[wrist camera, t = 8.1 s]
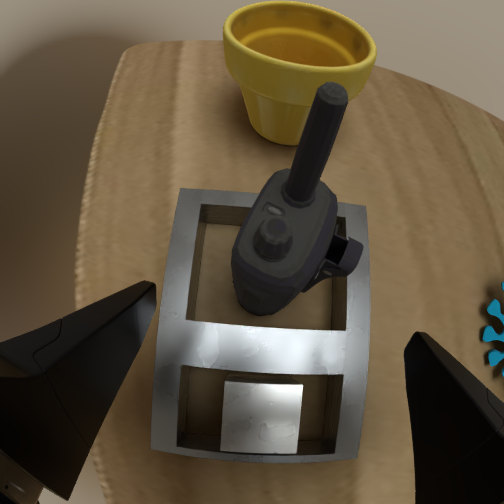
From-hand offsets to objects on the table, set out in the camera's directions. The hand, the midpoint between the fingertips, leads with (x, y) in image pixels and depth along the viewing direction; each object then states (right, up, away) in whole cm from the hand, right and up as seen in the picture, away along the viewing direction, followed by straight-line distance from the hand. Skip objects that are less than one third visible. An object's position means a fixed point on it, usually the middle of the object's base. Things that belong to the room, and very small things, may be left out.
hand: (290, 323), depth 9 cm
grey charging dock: (-1, -3, +9) cm, 10 cm away
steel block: (-1, -7, +8) cm, 11 cm away
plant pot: (+2, +14, +15) cm, 21 cm away
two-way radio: (0, 0, +11) cm, 11 cm away
